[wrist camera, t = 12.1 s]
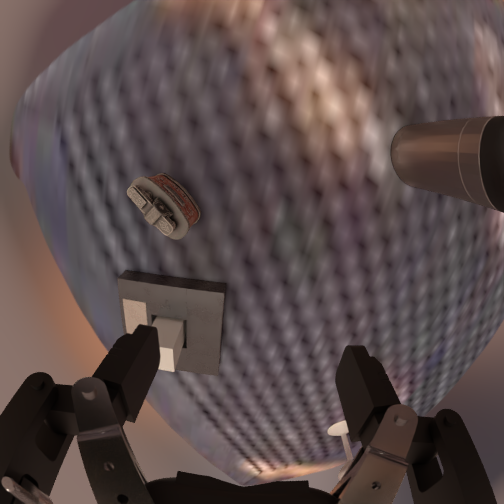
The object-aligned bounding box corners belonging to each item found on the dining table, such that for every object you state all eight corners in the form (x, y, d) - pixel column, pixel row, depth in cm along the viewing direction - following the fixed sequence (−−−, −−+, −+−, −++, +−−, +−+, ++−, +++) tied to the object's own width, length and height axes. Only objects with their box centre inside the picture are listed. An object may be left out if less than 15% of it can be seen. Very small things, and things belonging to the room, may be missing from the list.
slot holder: (226, 283, 37) (224, 293, 34) (219, 363, 42) (217, 376, 39) (125, 270, 37) (116, 278, 34) (134, 349, 42) (128, 360, 38)
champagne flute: (360, 424, 50) (387, 506, 27) (337, 438, 51) (358, 518, 29) (345, 417, 48) (372, 507, 26) (321, 431, 50) (340, 519, 27)
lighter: (206, 212, 34) (190, 231, 25) (188, 229, 35) (167, 254, 26) (165, 167, 32) (133, 170, 23) (147, 185, 33) (112, 195, 24)
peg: (186, 311, 39) (172, 349, 30) (186, 333, 40) (174, 371, 32) (161, 307, 39) (142, 343, 30) (162, 329, 40) (145, 366, 32)
